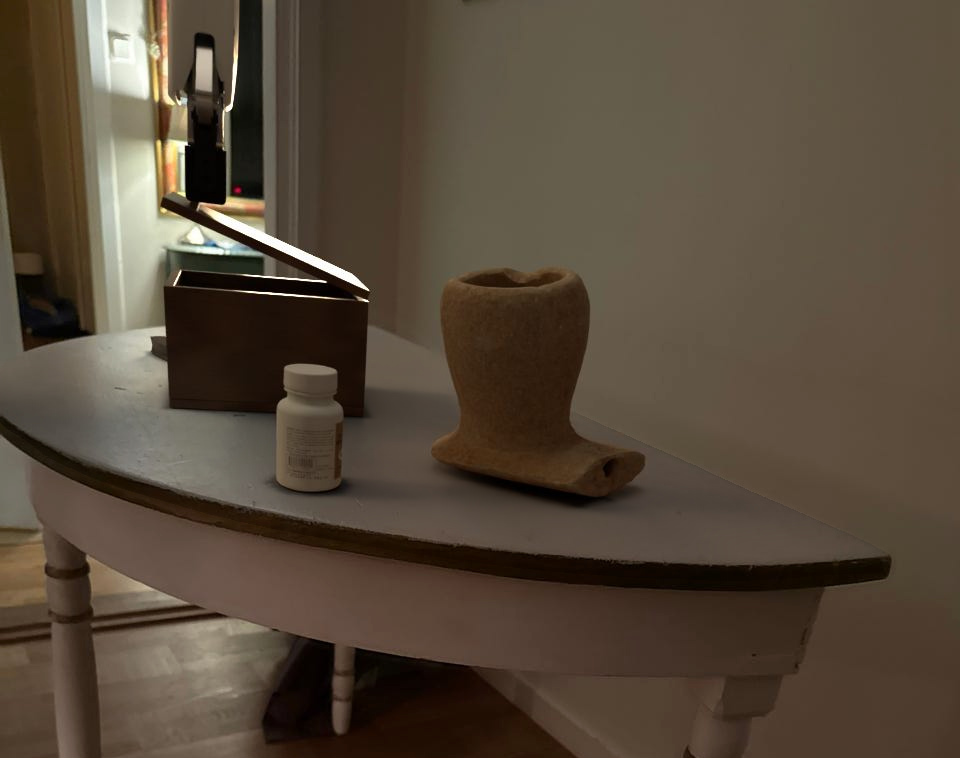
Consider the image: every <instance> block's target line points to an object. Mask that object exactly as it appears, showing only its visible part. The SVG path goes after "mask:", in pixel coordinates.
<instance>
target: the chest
mask: <svg viewBox="0 0 960 758" xmlns="http://www.w3.org/2000/svg"><path fill="white" fill-rule="evenodd" d="M162 288H163V308H164V327H165V337H166V348H167V360H166V364H167V384H168V385H167V386H168V401H169V402H168V403H169V404H168V405H169V408H170V409H190V410H209V411H210V410H212V411H234V412H235V411H236V412H253V413H254V412H255V413H275V414H277V405H278V403H279V402H280V401H281V400H282V399H284V398H286V397H287V391H285V390H284V387H285V386H284V368H285V366H287V365H292V364H313V365H321V366H326V367H330V368H333V369H335V370H336V371H337V389H336V391H337V393H336V394H335V395H333V400H334V401H336V402H338V403H339V404H340V405H341V407H342V409H343V417H345V416H346V417H364V415H365V396H366V395H365V394H366V377H367V376H366V375H367V374H366V373H367V351H368V349H367V348H368V329H369V328H368V327H369V326H368V325H369V306H370V301H368V300H365V299H362V298H360V297H358V296H356V295H354V294H351V293H349V292H347V291H345V290H343V289H340V288H338V287H336V286H334V285H332V284H329V283H327V282H325V281H323V280H316V279H315V280H313V279H301V278H290V277H277V276H266V275H265V276H264V275H252V274H242V273H229V272H218V271H206V270H205V271H204V270H193V269H181V268H172V270H171V272H170V274H169V276H168V278H167V279H166V281H165V283H164V285H163V287H162Z"/></svg>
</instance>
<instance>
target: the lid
mask: <svg viewBox="0 0 960 758" xmlns="http://www.w3.org/2000/svg"><path fill="white" fill-rule="evenodd" d="M159 204H160V205H159V206H160V207H161V208H162V209H164V210H167V211H169V212H171V213H173V214H175V215H178V216H179V217H182V218H184V219H186V220H189V221H190V222H193V223H195V224H196V225H197V224H198V225H200V226H201V227H204V228H206V229H208V230H210V231H213V232H215V233H217V234H218V235H222V236H224V237H226V238H228V239H230V240H233V241H235V242H237V243H239V244H242V245H244V246H246V247H248V248H250V249H252V250H255V251H257V252H258V253H262V254H263V255H265V256H268V257H270V258H272V259H274V260H276V261H278V262H280V263H283V264H286V265H288V266H289V267H291V268H295V269H297V270H299V271H301V272H303V273H305V274H307V275H310V276H312V277H315V278H316V279H319V280H320V281H325V282H327V283H329V284H332V285H334V286H336V287H338V288H340V289H343V290H345V291H347V292H349V293H351V294H354V295H356V296H358V297H360V298H362V299H365V300H367V301H368V300H369V297H370V294H371V291H370V290H369V289H368V288H367V287H366V286H365V285H364V284H363V283H362V282H361V281H360V280H359V279H358V278H357V277H356V276H355V275H353V273H350V272H348V271H345V270H344V269H342V268H339V267H338V266H335V265H333V264H331V263H329V262H327V261H324V260H322V259H321V258H319V257H316V256H313V255H312V254H309V253H307V252H305V251H303V250H301V249H299V248H296V247H294V246H292V245H289V244H288V243H286V242H284V241H281V240H279V239H277V238H276V237H275V238H274V237H273V236H270V235H268V234H266V233H264V232H262V231H260V230H258V229H255V228H254V227H251V226H248V225H247V224H244V223H242V222H240V221H238V220H237V219H234V218H232V217H230V216H227V215H225V214H223V213H221V212H218V211H216V210H214V209H212V208H210V207H208V206H205V205H203V204H201V202H193V201H189V200H187V199H186V196H185V195H182V194H181V193H177V192H175V191H171V192H169V193H166V195H164V196H162V198H161V201H160V203H159Z"/></svg>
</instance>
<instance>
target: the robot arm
mask: <svg viewBox="0 0 960 758" xmlns="http://www.w3.org/2000/svg"><path fill="white" fill-rule="evenodd" d="M166 21H167V22H166V31H167V34H166V35H167V37H166V38H167V41H166V42H167V95H168V97H169V98H170V99H171V100H172V102H173V103H174V104H175V105H176V106H181V105H182V99H186V109H187V110H186V132H187V133H186V138H187V139H186V140H187V141H186V142H187V144H185V145H184V197H186V199H187V200H189V201H193V202H201V203H202V204H207V205H208V204H209V205H217V206H224V205H226V203H227V151H226V150H224V141H225V139H224V134H225V133H224V132H225V131H224V129H225V128H224V125H225V124H224V123H225V121H224V119H225V113H228V112H229V111H231V110H232V108H233V103H234V97H235V91H236V90H235V89H236V82H237V71H238V59H239V58H238V57H239V36H240V35H239V34H240V33H239V32H240V0H166ZM201 203H200V204H201Z"/></svg>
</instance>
